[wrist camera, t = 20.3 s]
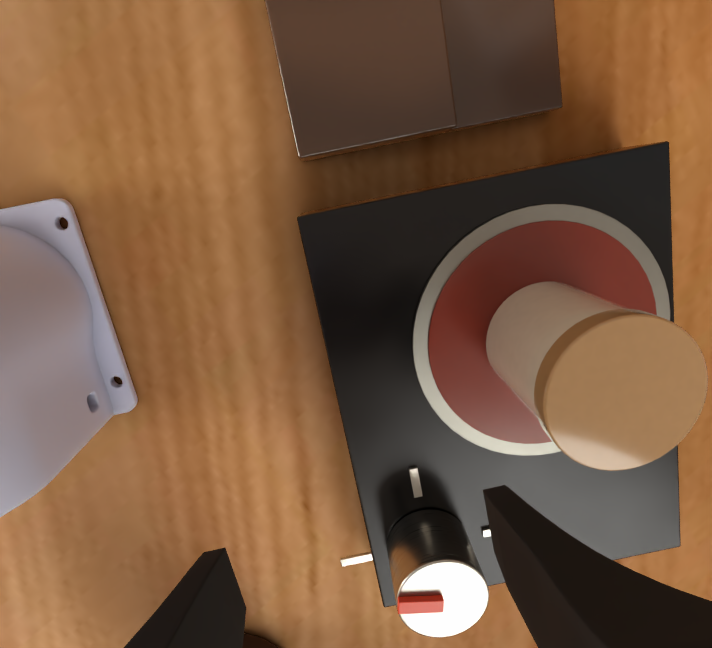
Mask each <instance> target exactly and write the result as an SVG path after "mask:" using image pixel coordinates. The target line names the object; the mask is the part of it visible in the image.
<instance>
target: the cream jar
mask: <svg viewBox="0 0 712 648" xmlns="http://www.w3.org/2000/svg"><path fill="white" fill-rule="evenodd" d="M486 351H487V356H488V360H489V362H490V365H491V367H492V369H493V371H494V372H495V373H496V375H497V376H498V377H499V378H500V379H501V380H502V382H503V383H504V384H505V385H506V386H507V387H508V388H509V389H510V390H511V391H512V393H513V394H514V395H515V396H516V397H517V398H518V399H519V400H520V401H521V402H522V403H523V405H524V406H525V407H526V408H527V409H528V410H529V411H530V412H531V413H532V414H533V415H534V417H535V418H536V419H537V420H538V421H539V422H540V424H541V426H542V428H543V430H544V431H545V433H546V434H547V435H548V437H549V438H550V439H551V440H552V441H553V442H554V444H555V445H556V446H557V447H558V448H559V449H560V450H561V451H562V452H563V453H564V454H565V455H567V456H568V457H569V458H571V459H572V460H574V461H576V462H578V463H580V464H582V465H585V466H587V467H590V468H595V469H599V470H608V471H616V470H626V469H632V468H636V467H639V466H642V465H645V464H648V463H650V462H652V461H654V460H656V459H658V458H660V457H662V456H663V455H665V454H666V453H668V452H669V451H670V450H672V449H673V448H674V447H675V446H676V445H678V444H679V443H680V442H681V441H682V440H683V439H684V438H685V436H686V435H687V434H688V433H689V431H690V430H691V429H692V427H693V426H694V424H695V423H696V421H697V419H698V417H699V415H700V413H701V411H702V408H703V405H704V402H705V399H706V394H707V386H708V375H707V367H706V363H705V359H704V357H703V354H702V352H701V350H700V348H699V347H698V345H697V343H696V342H695V340H694V339H693V338H692V337H691V336H690V334H689V333H687V332H686V331H685V330H684V329H683V328H682V327H680V326H678V325H677V324H675V323H674V322H672V321H669V320H667V319H665V318H662V317H659V316H657V315H654V314H652V313H649V312H645V311H641V310H635V309H629V308H627V307H624V306H622V305H619V304H616V303H614V302H611V301H609V300H606V299H604V298H601V297H599V296H596V295H594V294H591V293H588V292H586V291H583V290H581V289H578V288H576V287H573V286H571V285H568V284H565V283H561V282H540V283H535V284H531V285H529V286H526V287H524V288H522V289H520V290H518V291H516V292H515V293H514V294H512V295H511V296H509V297H508V298H507V299H506V300H505V301H504V302H503V303H502V304H501V306H500V307H499V308H498V309H497V311H496V312H495V314H494V316H493V318H492V320H491V322H490V325H489V328H488V332H487V337H486Z"/></svg>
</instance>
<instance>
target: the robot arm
mask: <svg viewBox="0 0 712 648" xmlns="http://www.w3.org/2000/svg"><path fill="white" fill-rule="evenodd" d="M62 217H63V218H65V219H66V220H67V222H68V227H67V229H64V228H62V227H61V225H60V219H61V218H62ZM114 376H116V377H119V378H121V380H122V384H117V383H116V382H115V381H114ZM137 402H138V399H137V395H136V392H135V389H134V386H133V383H132V380H131V377H130V374H129V371H128V368H127V365H126V362H125V359H124V356H123V353H122V350H121V347H120V345H119V342H118V339H117V336H116V333H115V330H114V327H113V324H112V321H111V318H110V315H109V312H108V309H107V306H106V303H105V300H104V297H103V294H102V291H101V288H100V285H99V282H98V279H97V276H96V273H95V271H94V268H93V265H92V262H91V259H90V256H89V253H88V250H87V247H86V244H85V241H84V238H83V235H82V232H81V229H80V226H79V223H78V220H77V217H76V214H75V211H74V208H73V207H72V205H71V203H69V202H68V201H67V200H65V199H62V198H55V199H49V200H44V201H39V202H34V203H29V204H24V205H19V206H14V207H9V208H5V209H0V517H1V516H3V515H5V514H7V513H8V512H10V511H12V510H13V509H15V508H16V507H18V506H20V505H21V504H23V503H24V502H26V501H27V500H28V499H30V498H31V497H33V496H34V495H36V494H37V493H38V492H39V491H41V490H42V489H43V488H44V487H45V486H46V485H48V484H49V483H50V482H51V481H52V480H53V479H54V478H55V477H56V476H57V475H58V473H59V472H60V471H61V470H62V469H63V468H64V467H65V466H66V465H67V464H68V463H69V462H70V461H71V460H72V459H73V458H74V457H75V455H76V454H77V453H78V452H79V451H80V450H81V449H82V448H83V447H84V446H85V445H86V444H87V443H88V442H89V441H90V440H91V439H92V438H93V436H94V435H95V434H96V433H97V432H98V431H99V430H100V429H101V428H102V427H103V426H104V425H105V424H106V423H107V422H108V421H109V420H110V418H111V417H112V416H113V415H116V414H121V413H126V412H129V411H131V410H132V409H133V408H134V407H135V406H136V405H137ZM483 494H484V500H485V505H486V511H487V516H488V522H489V527H490V533H491V538H492V543H493V549H494V553H495V556H496V559H497V561H498V564H499V567H500V569H501V572H502V575H503V577H504V580H505V582H506V585H507V587H508V590H509V592H510V594H511V596H512V598H513V600H514V601H515V603H516V605H517V607H518V609H519V611H520V613H521V615H522V617H523V619H524V621H525V623H526V625H527V627H528V629H529V631H530V633H531V635H532V637H533V638H534V640H535V642H536V644H537V646H538V648H712V601H709V600H706V599H703V598H700V597H697V596H695V595H692V594H689V593H686V592H683V591H680V590H678V589H675V588H673V587H670V586H668V585H665V584H662V583H660V582H658V581H655V580H653V579H651V578H649V577H646V576H644V575H642V574H640V573H637V572H635V571H633V570H631V569H629V568H627V567H625V566H623V565H621V564H619V563H617V562H615V561H613V560H611V559H609V558H608V557H606V556H604V555H602V554H600V553H598V552H596V551H595V550H593V549H591V548H590V547H588V546H587V545H585V544H583V543H582V542H580V541H579V540H577V539H576V538H574V537H573V536H571V535H570V534H568V533H567V532H565V531H564V530H562V529H561V528H560V527H558V526H557V525H555V524H554V523H553V522H551V521H550V520H549V519H547V518H546V517H545V516H543V515H542V514H541V513H539V512H538V511H537V510H535V509H534V508H533V507H532V506H530V505H529V504H528V503H527V502H525V501H524V500H523V499H522V498H521V497H519V496H518V495H517V494H516V493H515V492H514V491H512V490H511V489H510V488H509V487H507V486H506V485H502V486H497V487H493V488H488V489H484V490H483ZM245 614H246V606H245V603H244V600H243V597H242V595H241V592H240V589H239V586H238V583H237V580H236V577H235V574H234V572H233V569H232V566H231V563H230V560H229V557H228V554H227V551H226V549H225V548H222V549H217V550H213V551H208V552H204V553H203V554H202V555H201V556H200V557H199V558H198V560H197V561H196V562H195V563H194V565H193V566H192V567H191V568H190V569H189V571H188V572H187V573H186V575H185V576H184V577H183V578H182V580H181V581H180V582H179V583H178V585H177V586H176V587H175V588H174V590H173V591H172V592H171V593H170V594H169V596H168V597H167V598H166V599H165V601H164V602H163V603H162V604H161V606H160V607H159V608H158V609H157V610H156V612H155V613H154V614H153V615H152V616H151V617H150V619H149V620H148V621H147V622H146V623H145V624H144V625H143V626H142V628H141V629H140V630H139V631H138V632H137V633H136V634H135V636H134V637H133V638H132V639H131V640H130V641H129V642H128V644H127V645H126V646H125V647H124V648H242V646H243V637H244V627H245Z"/></svg>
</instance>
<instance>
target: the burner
mask: <svg viewBox="0 0 712 648" xmlns="http://www.w3.org/2000/svg"><path fill="white" fill-rule="evenodd" d="M540 282H561V283H565V284H568V285H571V286H573V287H576V288H578V289H581V290H583V291H586V292H588V293H591V294H594V295H596V296H599V297H601V298H604V299H606V300H609V301H611V302H614V303H616V304H619V305H622V306H624V307H627V308H629V309H635V310H641V311H645V312H649V313H652V314H654V315H657V316H659V317H662V318H665V319H667V320H669V321H670V304H669V295H668V291H667V287H666V283H665V279H664V277H663V274H662V272H661V269H660V267H659V265H658V263H657V261H656V260H655V258H654V256H653V255H652V253H651V251H650V250H649V249H648V247H647V246H646V245H645V244H644V243H643V241H642V240H641V239H640V238H639V237H638V236H637V235H636V234H635V233H634V232H632V231H631V230H630V229H629V228H628V227H626V226H625V225H623V224H622V223H620V222H619V221H617V220H616V219H614V218H612V217H610V216H608V215H606V214H603V213H601V212H599V211H596V210H593V209H589V208H586V207H582V206H575V205H568V204H541V205H533V206H527V207H523V208H519V209H516V210H512V211H509V212H506V213H504V214H502V215H499V216H497V217H494V218H492V219H490V220H489V221H487V222H485V223H484V224H482V225H480V226H478V227H477V228H475V229H474V230H473V231H471V232H470V233H469V234H467V235H466V236H465V237H463V238H462V239H461V240H460V241H459V242H458V243H457V244H456V245H455V246H454V247H453V248H452V249H451V250H450V251H449V252H448V253H447V254H446V255H445V257H444V258H443V259H442V260H441V261H440V263H439V264H438V265H437V267H436V268H435V270H434V272H433V273H432V275H431V276H430V278H429V280H428V281H427V284H426V286H425V288H424V290H423V292H422V295H421V297H420V300H419V303H418V306H417V310H416V313H415V318H414V324H413V330H412V353H413V362H414V367H415V371H416V375H417V379H418V381H419V384H420V386H421V388H422V391H423V393H424V395H425V397H426V399H427V400H428V402H429V404H430V405H431V407H432V409H433V410H434V411H435V412H436V414H437V415H438V416H439V417H440V419H441V420H442V421H443V422H444V423H445V424H446V425H448V426H449V427H450V428H451V429H452V430H453V431H454V432H456V433H457V434H459V435H460V436H461V437H463V438H464V439H466V440H468V441H470V442H472V443H474V444H476V445H478V446H480V447H483V448H486V449H489V450H491V451H495V452H500V453H504V454H510V455H521V456H530V455H544V454H551V453H556V452H560V451H561V450H560V449H559V448H558V447H557V446H556V445H555V444H554V442H553V441H552V440H551V439H550V438H549V437H548V435H547V434H546V433H545V431H544V430H543V428H542V426H541V424H540V422H539V421H538V420H537V419H536V418H535V417H534V415H533V414H532V413H531V412H530V411H529V410H528V409H527V408H526V407H525V406H524V405H523V403H522V402H521V401H520V400H519V399H518V398H517V397H516V396H515V395H514V394H513V393H512V391H511V390H510V389H509V388H508V387H507V386H506V385H505V384H504V383H503V382H502V380H501V379H500V378H499V377H498V376H497V375H496V373H495V372H494V371H493V369H492V367H491V365H490V362H489V360H488V356H487V351H486V337H487V332H488V328H489V325H490V322H491V320H492V318H493V316H494V314H495V312H496V311H497V309H498V308H499V307H500V306H501V304H502V303H503V302H504V301H505V300H506V299H507V298H508V297H509V296H511V295H512V294H514V293H515V292H516V291H518V290H520V289H522V288H524V287H526V286H529V285H531V284H535V283H540Z"/></svg>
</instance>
